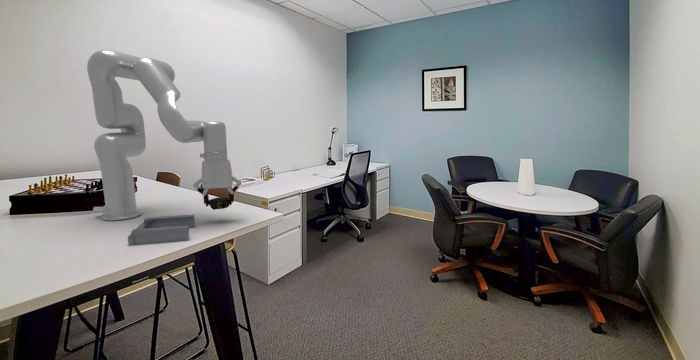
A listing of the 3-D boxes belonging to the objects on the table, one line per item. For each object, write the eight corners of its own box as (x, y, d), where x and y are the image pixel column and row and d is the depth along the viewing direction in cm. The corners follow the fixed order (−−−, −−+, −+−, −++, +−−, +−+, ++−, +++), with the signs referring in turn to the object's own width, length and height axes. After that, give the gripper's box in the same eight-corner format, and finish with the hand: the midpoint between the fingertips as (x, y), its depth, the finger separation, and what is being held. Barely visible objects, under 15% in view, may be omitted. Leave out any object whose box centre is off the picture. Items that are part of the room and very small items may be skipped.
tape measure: (208, 207, 119) (208, 197, 119) (228, 205, 123) (227, 195, 122) (211, 212, 114) (210, 201, 113) (231, 209, 117) (230, 199, 116)
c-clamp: (128, 245, 96) (127, 232, 95) (146, 226, 113) (145, 215, 112) (188, 240, 100) (187, 227, 100) (196, 222, 117) (195, 212, 117)
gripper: (187, 158, 109) (191, 209, 112) (241, 157, 114) (244, 205, 117) (191, 156, 116) (194, 203, 119) (241, 155, 121) (244, 200, 124)
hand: (219, 204), depth 118 cm, fingers closed on tape measure, 7 cm apart
